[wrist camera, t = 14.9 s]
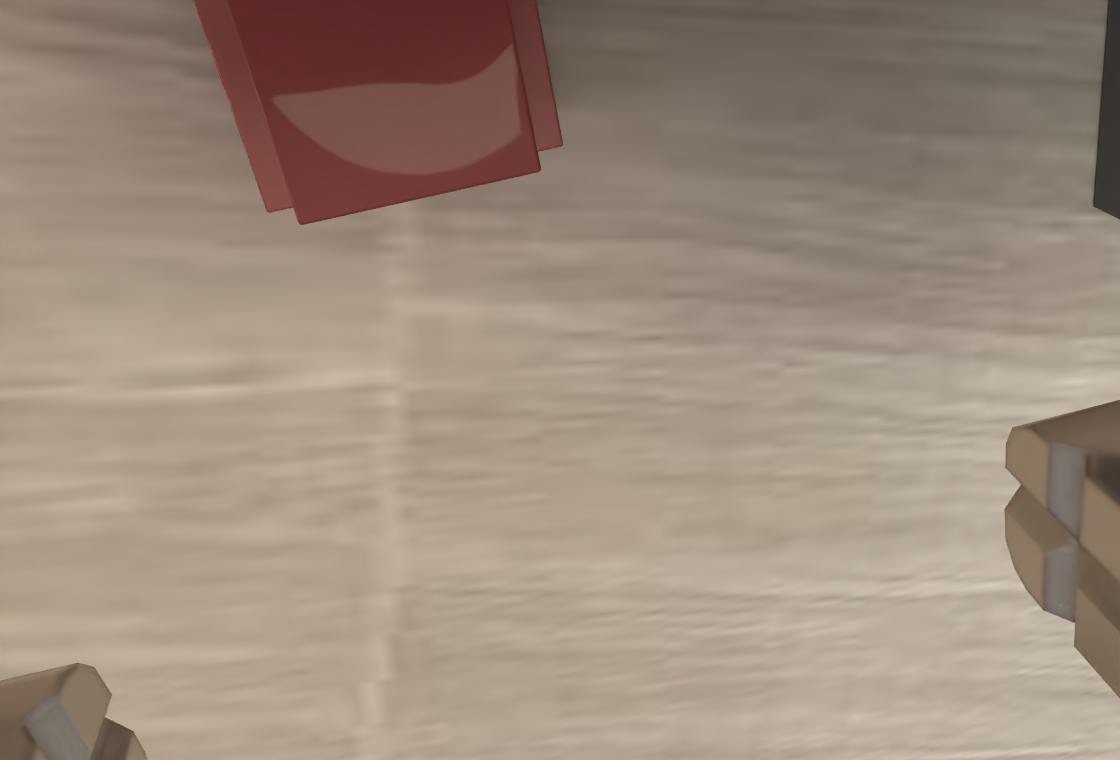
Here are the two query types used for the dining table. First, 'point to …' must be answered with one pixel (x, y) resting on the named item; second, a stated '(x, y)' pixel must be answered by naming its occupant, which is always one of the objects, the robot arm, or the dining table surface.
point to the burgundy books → (254, 125)
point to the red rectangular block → (386, 98)
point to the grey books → (1110, 121)
